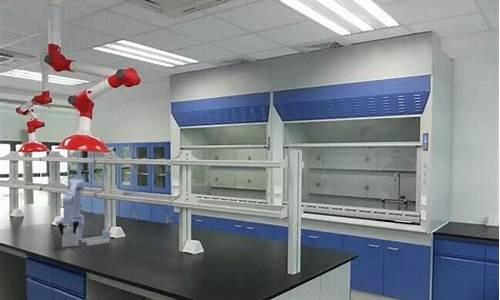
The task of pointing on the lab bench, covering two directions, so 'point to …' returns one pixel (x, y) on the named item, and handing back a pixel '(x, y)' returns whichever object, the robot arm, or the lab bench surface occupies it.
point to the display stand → (98, 239)
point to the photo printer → (70, 237)
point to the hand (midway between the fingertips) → (68, 234)
